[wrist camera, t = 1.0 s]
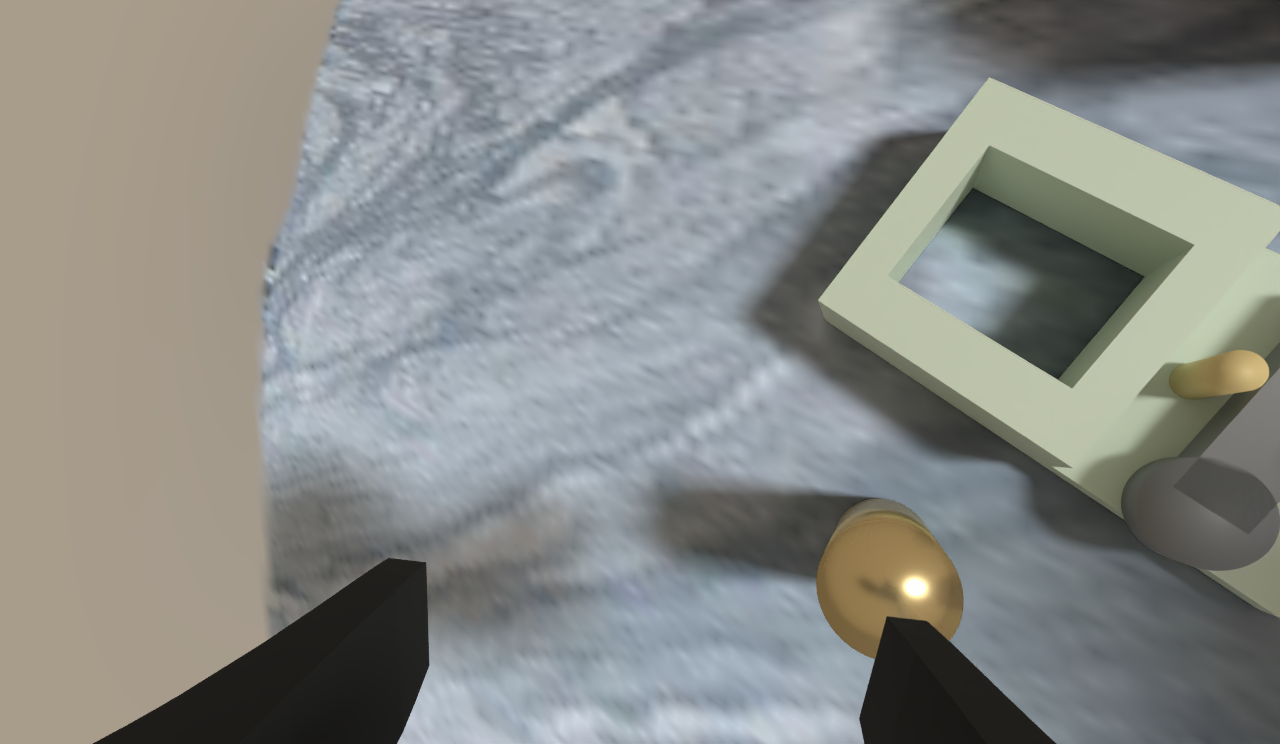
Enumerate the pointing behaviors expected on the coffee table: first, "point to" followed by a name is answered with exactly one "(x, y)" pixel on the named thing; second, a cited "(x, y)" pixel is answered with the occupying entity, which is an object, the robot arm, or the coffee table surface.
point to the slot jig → (1107, 331)
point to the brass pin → (885, 575)
